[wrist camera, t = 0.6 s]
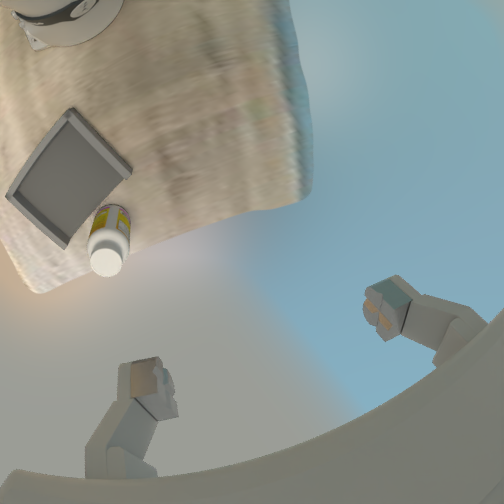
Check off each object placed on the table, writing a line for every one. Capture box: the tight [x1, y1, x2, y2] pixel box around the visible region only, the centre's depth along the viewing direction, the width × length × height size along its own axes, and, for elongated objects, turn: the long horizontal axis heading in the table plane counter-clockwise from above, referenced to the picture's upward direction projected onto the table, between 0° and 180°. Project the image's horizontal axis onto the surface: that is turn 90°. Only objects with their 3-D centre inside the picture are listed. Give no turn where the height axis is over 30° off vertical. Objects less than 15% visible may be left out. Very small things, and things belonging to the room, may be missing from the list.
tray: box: [5, 108, 132, 250], centre depth 34 cm, size 15×18×3 cm
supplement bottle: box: [87, 205, 130, 277], centre depth 38 cm, size 7×7×13 cm
